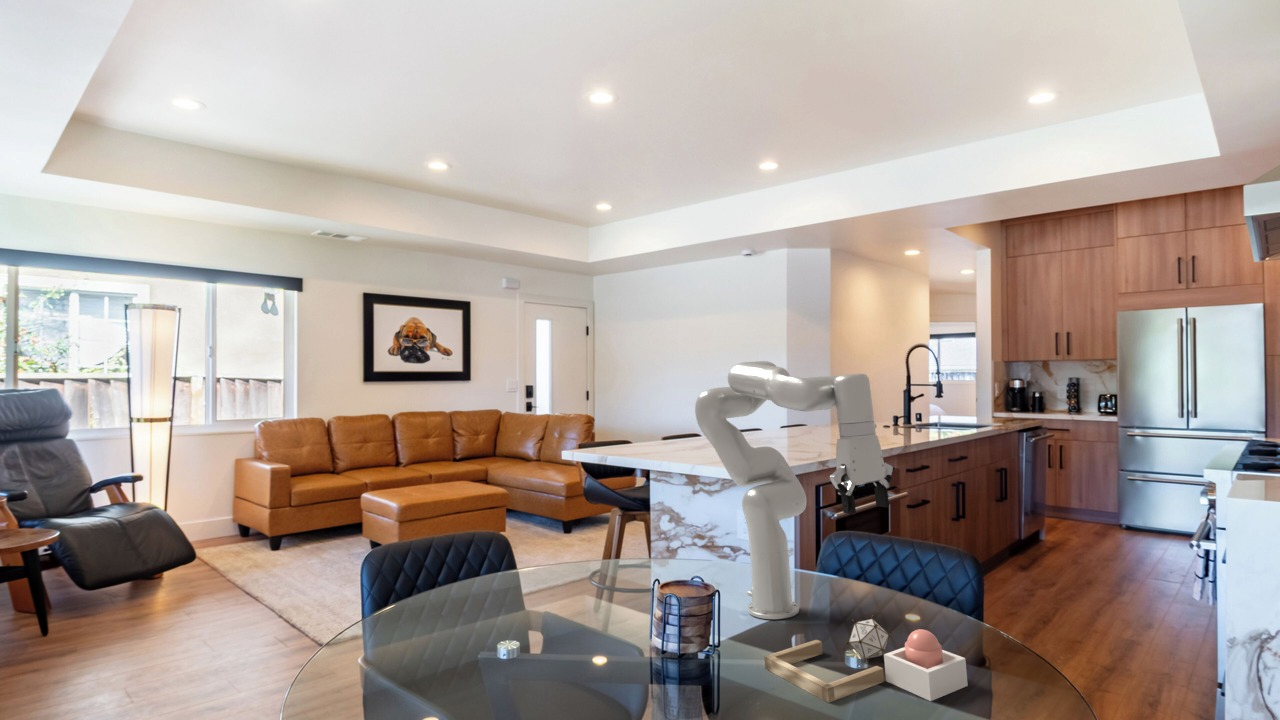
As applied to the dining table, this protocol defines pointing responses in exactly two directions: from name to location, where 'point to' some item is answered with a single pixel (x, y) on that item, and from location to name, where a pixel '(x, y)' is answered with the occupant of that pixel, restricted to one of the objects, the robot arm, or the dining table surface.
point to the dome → (923, 649)
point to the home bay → (813, 685)
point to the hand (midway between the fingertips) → (866, 510)
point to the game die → (868, 638)
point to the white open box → (926, 674)
